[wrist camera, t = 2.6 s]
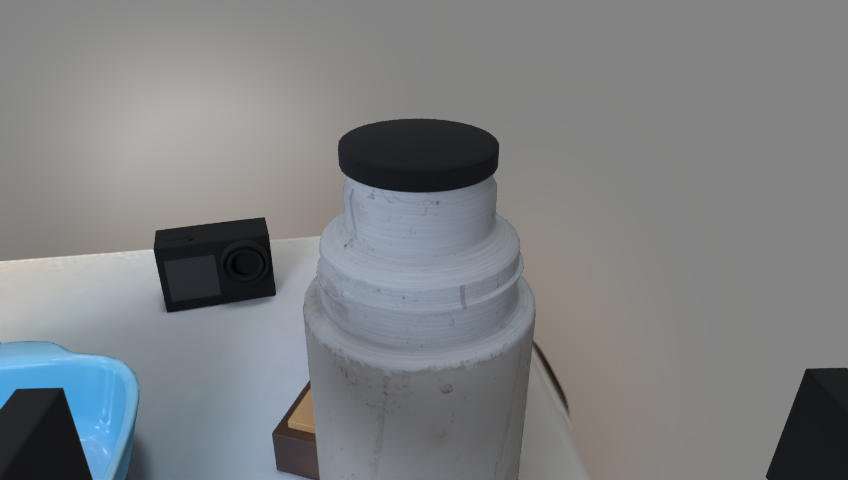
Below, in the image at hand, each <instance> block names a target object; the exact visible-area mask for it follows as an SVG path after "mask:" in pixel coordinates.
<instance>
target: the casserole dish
mask: <svg viewBox="0 0 848 480" xmlns="http://www.w3.org/2000/svg"><path fill="white" fill-rule="evenodd" d="M27 388H63V389H64V392H65V396H66V399H67V402H68V405H69V408H70V411H71V414H72V417H73V420H74V423H75V426H76V429H77V432H78V435H79V438H80V441H81V445H82V448H83V451H84V454H85V457H86V460H87V463H88V466H89V469H90V472H91V475H92V478H93V480H126V477H127V472H128V467H129V462H130V457H131V451H132V444H133V437H134V429H135V422H136V415H137V409H138V404H139V384H138V380H137V377H136V375H135V373H134V371H133V370H132V369H131V368H130V367H129V366H128V365H127V364H125V363H124V362H122V361H120V360H118V359H115V358H112V357H108V356H103V355H94V354H83V353H74V352H70V351H69V350H67V349H65V348H63V347H61V346H59V345H57V344H54V343H49V342H37V341H24V342H8V343H0V409H1V408H2V406H3V405H4V404H5V403H6V401H7V400H8V399H9V398H10V396H11V395H12V394H13V392H14V391H15V390H16V389H27Z"/></svg>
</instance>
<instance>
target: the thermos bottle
mask: <svg viewBox="0 0 848 480" xmlns="http://www.w3.org/2000/svg"><path fill="white" fill-rule="evenodd" d="M498 155H499V143H498V141H497V140H496V138H495V137H494V136H493V135H491V134H490V133H488V132H487V131H485V130H483V129H480V128H477V127H475V126H472V125H467V124H464V123H459V122H453V121H446V120H436V119H399V120H389V121H382V122H376V123H372V124H367V125H364V126H361V127H358V128H356V129H353V130H351V131H349V132H348V133H346V134H345V135H344V136H343V137H342V138H341V139H340V141H339V145H338V156H339V166H340V168H341V170H342V172H343V173H344V174H345V175H346V176H347V178H346V179H345V181H344V189H343V192H344V212H343V213H342V214H340V215H338V216H337V217H336V218H335V219H333V220H332V221H331V222H330V223H329V224H328V225H327V226H326V228H325V230H324V231H323V233H322V235H321V239H320V258H319V260H318V265H317V271H316V273H317V276H316V277H315V278H314V279H313V280H312V282H311V284H310V286H309V288H308V289H307V291H306V294H305V299H304V305H303V313H304V323H305V333H306V344H307V354H308V364H309V374H310V384H311V394H312V404H313V414H314V425H315V435H316V445H317V455H318V465H319V475H320V480H518V471H519V462H520V453H521V444H522V434H523V425H524V416H525V407H526V398H527V389H528V380H529V370H530V361H531V352H532V343H533V333H534V325H535V314H536V309H535V298H534V295H533V292H532V290H531V288H530V286H529V284H528V283H527V281H526V280H525V279H524V278H523V277H522V275H521V274H522V271H523V268H524V267H523V257H522V255H521V253H520V239H519V237H518V234H517V232H516V230H515V228H514V227H513V226H512V225H511V224H510V223H509V222H508V221H507V220H506V219H504V218H503V217H502V216H500V215H498V214H497V213H496V197H497V184H496V181H495V179H494V177H493V174H494V173H495V171H496V169H497V167H498Z"/></svg>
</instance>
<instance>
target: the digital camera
mask: <svg viewBox="0 0 848 480" xmlns="http://www.w3.org/2000/svg"><path fill="white" fill-rule="evenodd" d="M154 254H155V259H156V263H157V268H158V273H159V277H160V282H161V286H162V291H163V295H164V300H165V304H166V309H167V312H171V311H178V310H184V309H191V308H197V307H204V306H210V305H217V304H223V303H230V302H236V301H242V300H249V299H255V298H261V297H267V296H273V295H276V291H275V282H274V274H273V266H272V257H271V249H270V240H269V234H268V230H267V225H266V221H265V218H254V219H245V220H237V221H228V222H220V223H212V224H204V225H196V226H188V227H180V228H173V229H165V230H157V231H156V235H155V243H154Z"/></svg>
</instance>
